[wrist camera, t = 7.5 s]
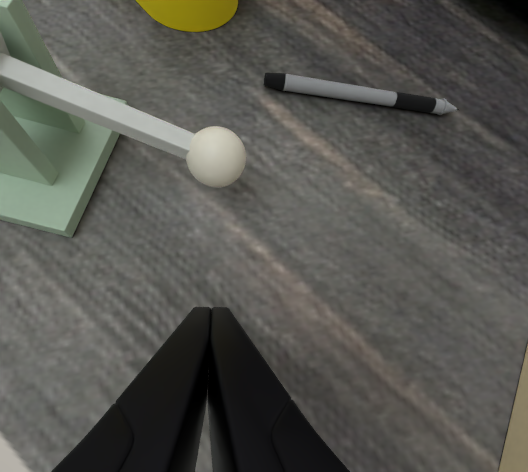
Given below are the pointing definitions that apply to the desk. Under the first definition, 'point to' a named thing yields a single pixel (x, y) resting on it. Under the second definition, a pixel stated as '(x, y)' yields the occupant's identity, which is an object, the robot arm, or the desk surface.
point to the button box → (518, 428)
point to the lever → (130, 121)
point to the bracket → (44, 143)
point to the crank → (190, 13)
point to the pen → (356, 93)
